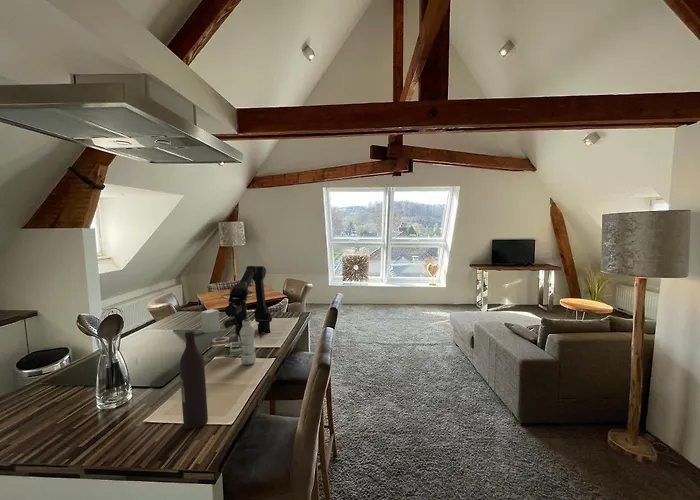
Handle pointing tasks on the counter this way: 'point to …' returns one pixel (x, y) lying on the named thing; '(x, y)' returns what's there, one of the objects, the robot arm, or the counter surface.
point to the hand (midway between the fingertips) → (242, 341)
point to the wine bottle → (193, 385)
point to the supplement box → (210, 321)
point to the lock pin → (239, 342)
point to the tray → (237, 349)
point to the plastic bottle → (247, 343)
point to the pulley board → (225, 340)
